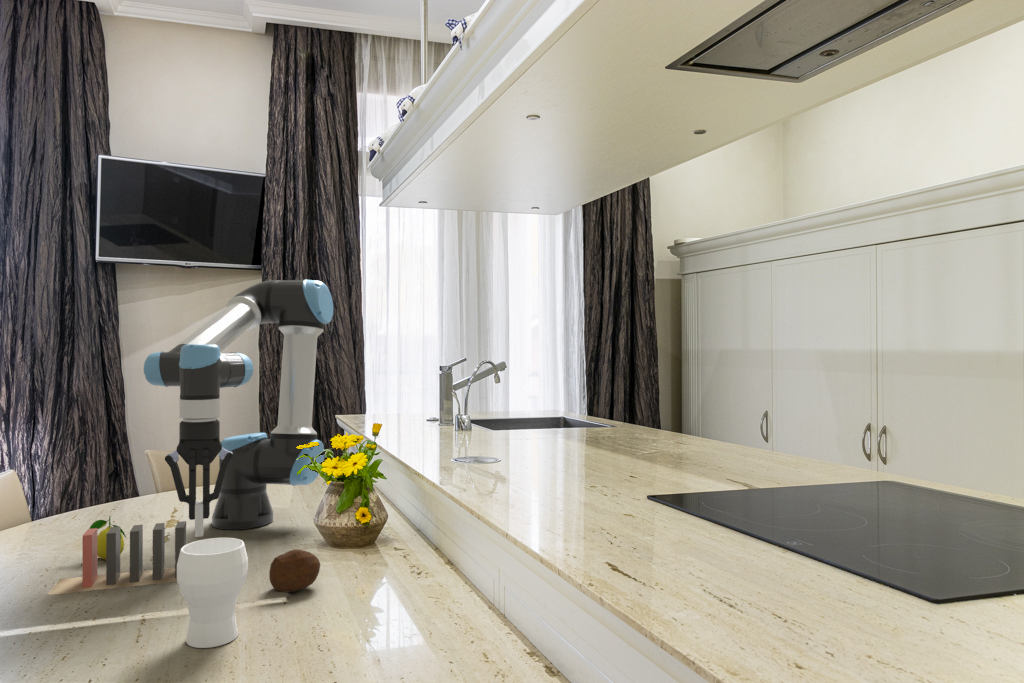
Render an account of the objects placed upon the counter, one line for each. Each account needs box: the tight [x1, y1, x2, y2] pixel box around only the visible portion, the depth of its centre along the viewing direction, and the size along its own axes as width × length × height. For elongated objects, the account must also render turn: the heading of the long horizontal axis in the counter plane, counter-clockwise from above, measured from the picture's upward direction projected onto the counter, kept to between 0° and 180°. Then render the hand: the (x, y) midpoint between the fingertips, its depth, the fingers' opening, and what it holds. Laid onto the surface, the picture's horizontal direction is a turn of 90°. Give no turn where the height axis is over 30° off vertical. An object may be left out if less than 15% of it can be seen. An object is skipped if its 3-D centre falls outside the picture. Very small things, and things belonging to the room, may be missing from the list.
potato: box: [268, 548, 321, 594], centre depth 135 cm, size 7×10×8 cm
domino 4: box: [152, 522, 166, 580], centre depth 140 cm, size 2×5×10 cm, turn 21°
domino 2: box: [105, 525, 121, 585], centre depth 137 cm, size 2×5×10 cm, turn 21°
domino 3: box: [129, 524, 144, 583], centre depth 139 cm, size 2×5×10 cm, turn 21°
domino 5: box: [174, 520, 187, 578], centre depth 141 cm, size 2×5×10 cm, turn 21°
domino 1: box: [81, 528, 99, 588], centre depth 136 cm, size 2×5×10 cm, turn 21°
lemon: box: [88, 515, 127, 561], centre depth 151 cm, size 7×6×10 cm
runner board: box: [47, 567, 178, 596], centre depth 138 cm, size 26×9×1 cm, turn 111°
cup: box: [176, 537, 249, 649], centre depth 113 cm, size 11×11×15 cm
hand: (199, 534), depth 143 cm, fingers closed
